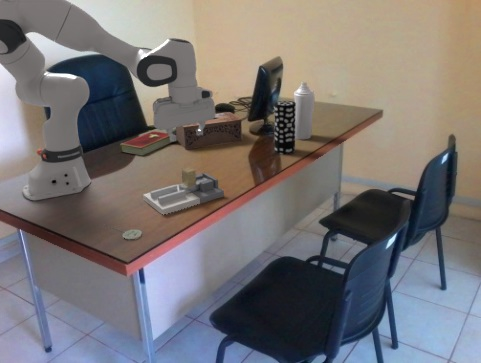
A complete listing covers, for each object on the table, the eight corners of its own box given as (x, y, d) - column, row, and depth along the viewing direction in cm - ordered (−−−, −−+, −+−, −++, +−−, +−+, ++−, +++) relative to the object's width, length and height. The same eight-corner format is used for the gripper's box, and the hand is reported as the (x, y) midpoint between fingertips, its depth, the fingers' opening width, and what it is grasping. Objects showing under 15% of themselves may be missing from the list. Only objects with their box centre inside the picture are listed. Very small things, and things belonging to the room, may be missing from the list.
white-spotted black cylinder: (297, 149, 193) (298, 101, 185) (291, 155, 186) (291, 106, 178) (278, 147, 196) (278, 100, 188) (271, 153, 189) (271, 104, 182)
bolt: (184, 193, 149) (182, 173, 146) (179, 190, 152) (177, 170, 149) (210, 186, 154) (209, 166, 152) (205, 182, 157) (204, 163, 154)
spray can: (320, 137, 207) (322, 80, 198) (305, 143, 200) (307, 84, 190) (299, 132, 215) (300, 77, 205) (284, 137, 208) (285, 81, 198)
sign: (110, 219, 138) (145, 232, 130) (110, 222, 139) (145, 235, 130) (95, 227, 134) (131, 240, 126) (96, 229, 135) (131, 243, 127)
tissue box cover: (230, 132, 218) (229, 112, 214) (241, 141, 206) (241, 119, 202) (177, 140, 210) (175, 118, 206) (185, 149, 197) (183, 127, 194)
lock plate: (163, 215, 141) (161, 200, 139) (143, 200, 151) (141, 185, 149) (223, 196, 152) (223, 182, 150) (201, 183, 163) (200, 169, 161)
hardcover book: (120, 152, 197) (119, 143, 195) (153, 139, 214) (152, 130, 212) (142, 156, 191) (141, 147, 190) (174, 142, 208) (173, 133, 206)
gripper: (157, 101, 132) (161, 147, 138) (217, 91, 143) (219, 134, 149) (147, 97, 137) (152, 142, 143) (206, 87, 148) (208, 129, 153)
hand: (186, 138), depth 146 cm, fingers open, 8 cm apart
